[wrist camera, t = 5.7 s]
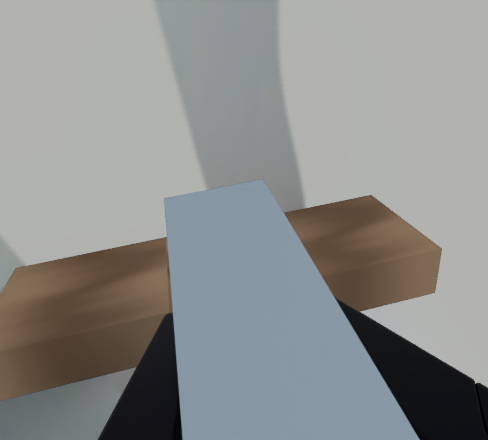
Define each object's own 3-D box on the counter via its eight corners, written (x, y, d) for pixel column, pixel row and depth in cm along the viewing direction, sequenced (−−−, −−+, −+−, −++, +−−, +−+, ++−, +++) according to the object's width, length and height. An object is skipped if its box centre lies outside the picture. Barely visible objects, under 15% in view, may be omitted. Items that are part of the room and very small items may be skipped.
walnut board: (371, 195, 18) (442, 248, 13) (369, 231, 19) (435, 292, 14) (15, 268, 16) (-39, 360, 11) (34, 305, 17) (-10, 403, 12)
